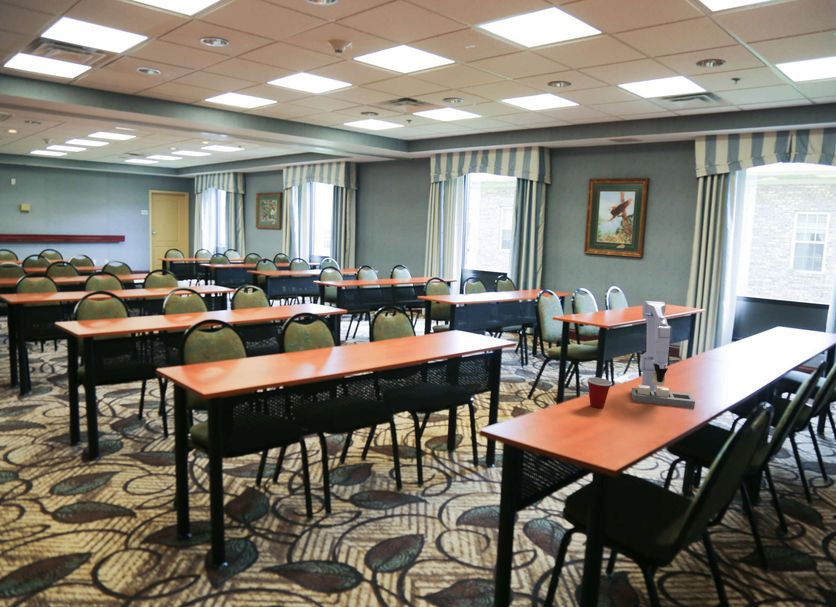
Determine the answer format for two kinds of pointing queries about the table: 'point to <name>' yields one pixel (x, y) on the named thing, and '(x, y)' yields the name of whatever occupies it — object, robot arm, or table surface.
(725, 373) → the table surface
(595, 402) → the plastic cup
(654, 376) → the loose block
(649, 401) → the puzzle board
